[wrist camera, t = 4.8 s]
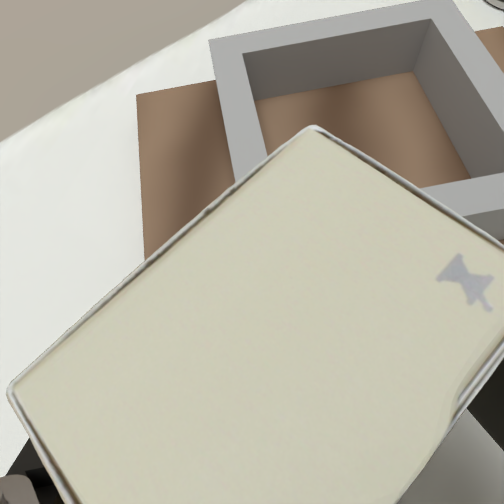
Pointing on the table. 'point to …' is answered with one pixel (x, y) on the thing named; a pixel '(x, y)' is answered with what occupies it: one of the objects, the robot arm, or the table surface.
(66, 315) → the table surface
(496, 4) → the supplement bottle
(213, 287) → the skincare box
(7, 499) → the robot arm
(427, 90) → the collar
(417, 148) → the board
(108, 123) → the table surface
